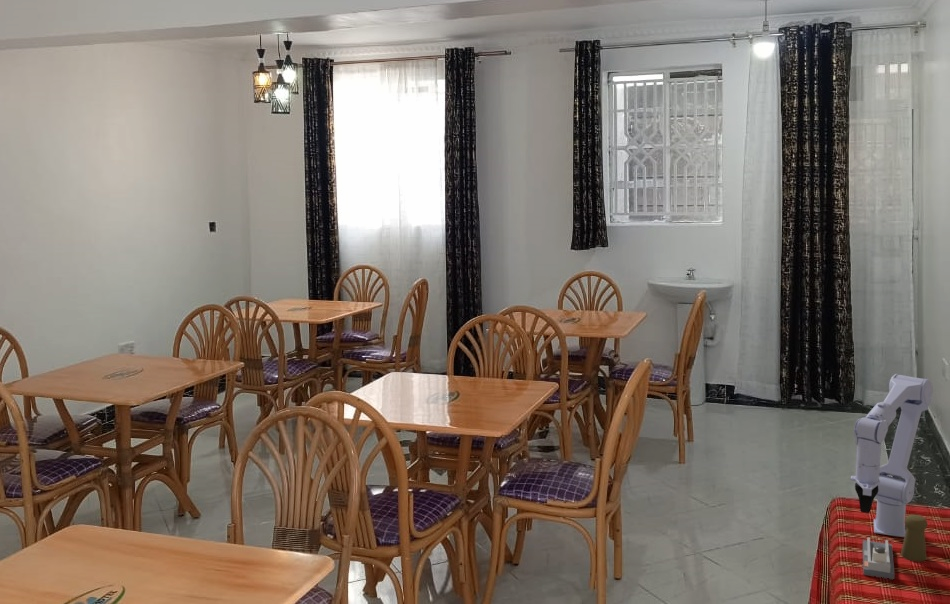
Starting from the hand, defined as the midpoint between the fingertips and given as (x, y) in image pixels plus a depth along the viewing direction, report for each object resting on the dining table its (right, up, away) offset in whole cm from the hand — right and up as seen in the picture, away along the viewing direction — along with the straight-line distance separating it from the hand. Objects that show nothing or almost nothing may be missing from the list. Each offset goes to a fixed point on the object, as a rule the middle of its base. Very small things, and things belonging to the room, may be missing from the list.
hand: (865, 511), depth 228 cm
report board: (+1, -12, -6) cm, 13 cm away
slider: (-2, -11, -12) cm, 16 cm away
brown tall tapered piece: (+11, -11, -3) cm, 16 cm away
